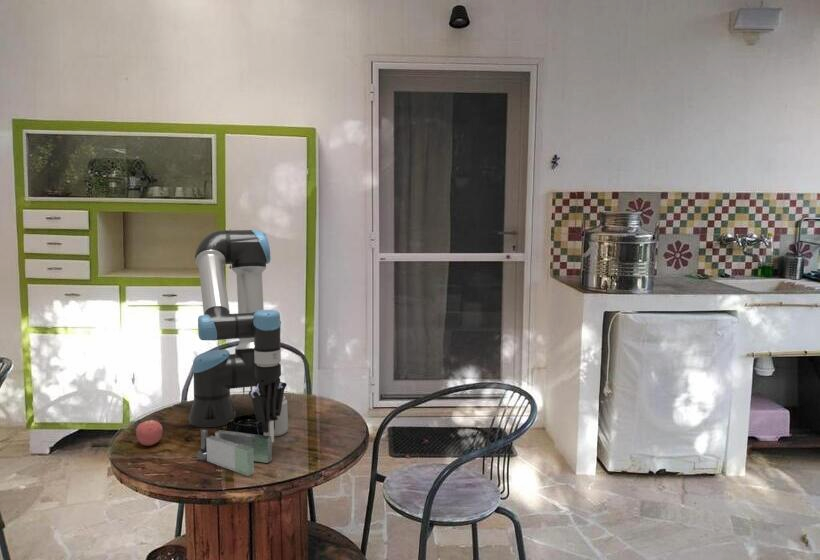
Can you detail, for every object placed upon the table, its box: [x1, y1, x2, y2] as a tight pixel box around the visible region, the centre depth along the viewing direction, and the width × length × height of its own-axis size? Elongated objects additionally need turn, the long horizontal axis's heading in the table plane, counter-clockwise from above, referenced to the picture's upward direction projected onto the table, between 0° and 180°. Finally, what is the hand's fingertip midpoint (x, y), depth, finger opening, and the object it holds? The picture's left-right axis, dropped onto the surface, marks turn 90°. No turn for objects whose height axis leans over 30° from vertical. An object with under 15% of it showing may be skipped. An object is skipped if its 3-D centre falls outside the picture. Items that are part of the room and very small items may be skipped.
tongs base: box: [196, 428, 255, 477], centre depth 172 cm, size 21×4×8 cm, turn 56°
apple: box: [135, 418, 164, 447], centre depth 187 cm, size 7×7×8 cm
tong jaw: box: [214, 429, 273, 464], centre depth 177 cm, size 17×2×7 cm, turn 74°
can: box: [274, 395, 289, 437], centre depth 197 cm, size 8×8×12 cm
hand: (268, 441), depth 182 cm, fingers closed
